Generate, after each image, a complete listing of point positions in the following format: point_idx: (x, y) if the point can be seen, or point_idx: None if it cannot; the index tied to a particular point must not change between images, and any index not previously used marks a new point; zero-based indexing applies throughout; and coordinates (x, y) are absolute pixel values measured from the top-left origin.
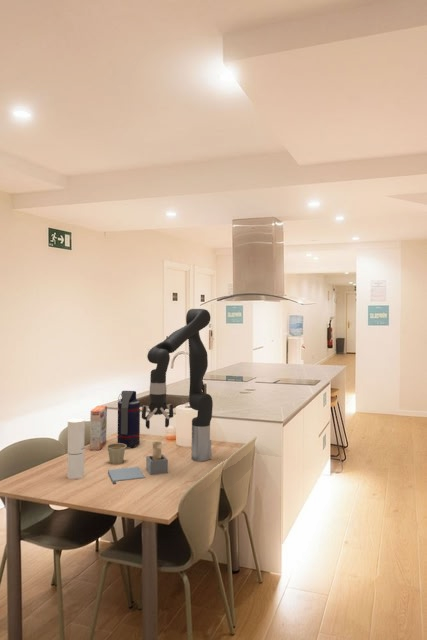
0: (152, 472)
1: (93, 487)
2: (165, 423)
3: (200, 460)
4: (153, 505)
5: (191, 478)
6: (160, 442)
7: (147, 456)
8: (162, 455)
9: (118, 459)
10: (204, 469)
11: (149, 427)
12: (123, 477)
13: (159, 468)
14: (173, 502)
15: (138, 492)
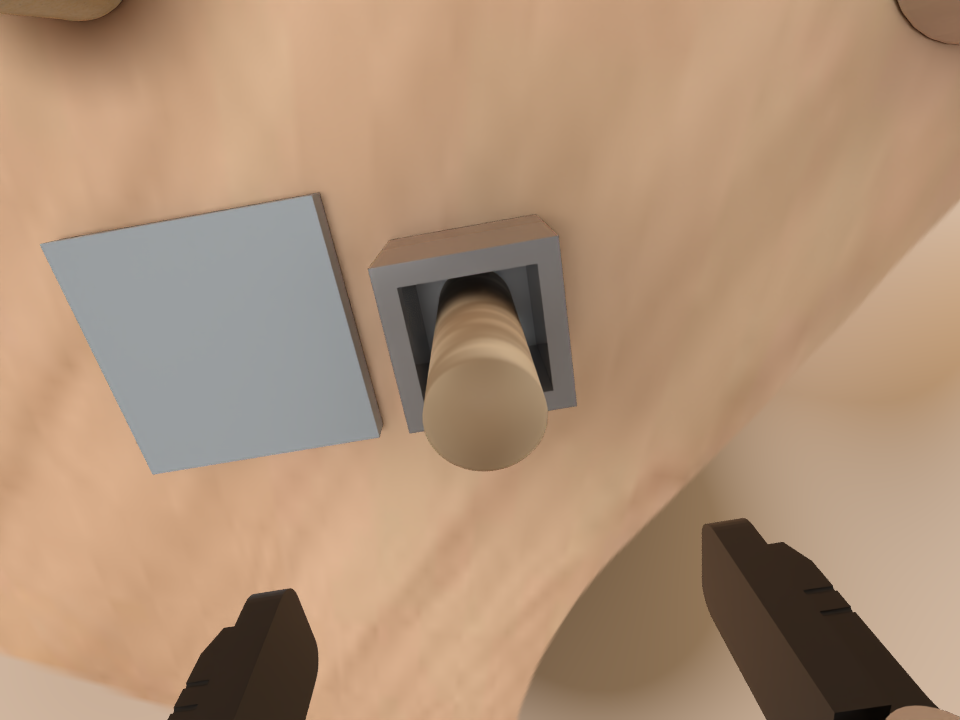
0: None
1: (47, 494)
2: (741, 605)
3: (949, 40)
4: (422, 713)
5: (701, 435)
6: (533, 414)
7: (381, 281)
8: (546, 271)
9: (58, 14)
10: (868, 272)
11: (312, 687)
12: (217, 430)
13: None
14: (518, 698)
15: (345, 587)
